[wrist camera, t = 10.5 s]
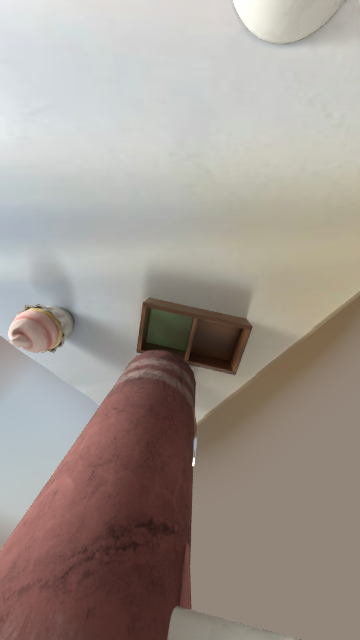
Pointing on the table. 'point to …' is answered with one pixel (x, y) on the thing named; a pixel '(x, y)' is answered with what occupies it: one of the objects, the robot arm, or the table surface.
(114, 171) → the table surface
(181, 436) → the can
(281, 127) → the table surface
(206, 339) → the tray
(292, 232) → the table surface
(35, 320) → the cupcake
